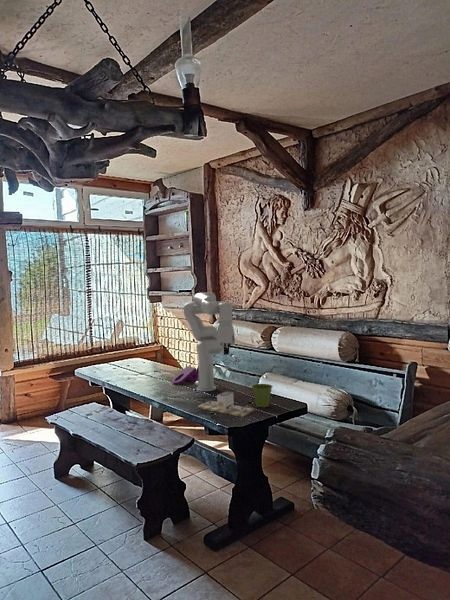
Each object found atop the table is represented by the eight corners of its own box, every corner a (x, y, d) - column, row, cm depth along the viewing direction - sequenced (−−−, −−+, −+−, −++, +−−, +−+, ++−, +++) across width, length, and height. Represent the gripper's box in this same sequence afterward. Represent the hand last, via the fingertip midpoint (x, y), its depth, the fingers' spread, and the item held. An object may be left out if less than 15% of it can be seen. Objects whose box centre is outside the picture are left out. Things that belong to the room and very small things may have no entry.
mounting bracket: (182, 393, 308) (200, 377, 319) (177, 383, 305) (195, 367, 315) (173, 391, 314) (191, 375, 325) (169, 381, 311) (186, 365, 322)
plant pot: (277, 405, 258) (276, 385, 257) (264, 410, 249) (264, 390, 248) (260, 401, 265) (260, 382, 265) (247, 406, 257) (247, 386, 256)
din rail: (205, 404, 258) (205, 401, 258) (208, 403, 261) (208, 400, 261) (243, 412, 243) (243, 409, 243) (247, 410, 246) (247, 407, 246)
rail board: (197, 407, 256) (197, 406, 256) (210, 402, 266) (210, 400, 266) (242, 416, 239) (242, 415, 239) (254, 410, 248) (254, 409, 248)
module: (216, 409, 250) (216, 394, 249) (226, 404, 257) (226, 391, 256) (224, 410, 247) (223, 396, 246) (233, 406, 254) (233, 392, 254)
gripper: (211, 323, 269) (212, 354, 270) (232, 324, 260) (233, 356, 262) (219, 322, 275) (219, 352, 276) (239, 323, 266) (240, 354, 268)
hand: (226, 354), depth 269 cm, fingers closed
